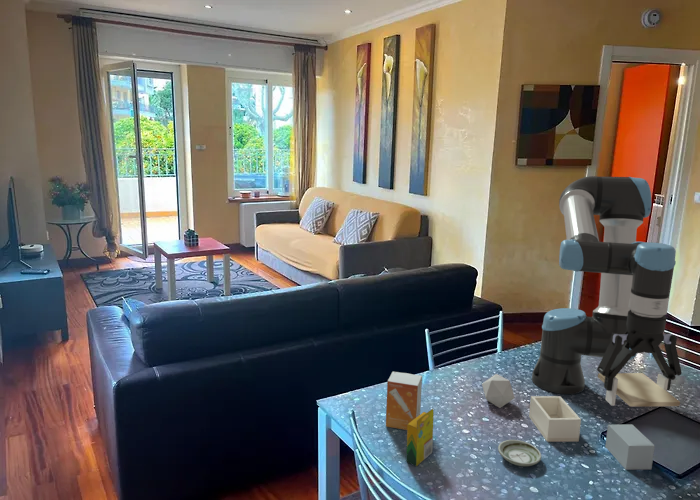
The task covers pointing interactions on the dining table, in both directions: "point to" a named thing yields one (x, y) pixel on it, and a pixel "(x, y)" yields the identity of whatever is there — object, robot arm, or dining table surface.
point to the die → (498, 390)
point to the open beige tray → (554, 419)
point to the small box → (403, 399)
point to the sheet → (641, 391)
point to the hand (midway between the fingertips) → (634, 402)
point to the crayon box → (420, 438)
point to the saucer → (519, 452)
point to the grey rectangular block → (630, 447)
